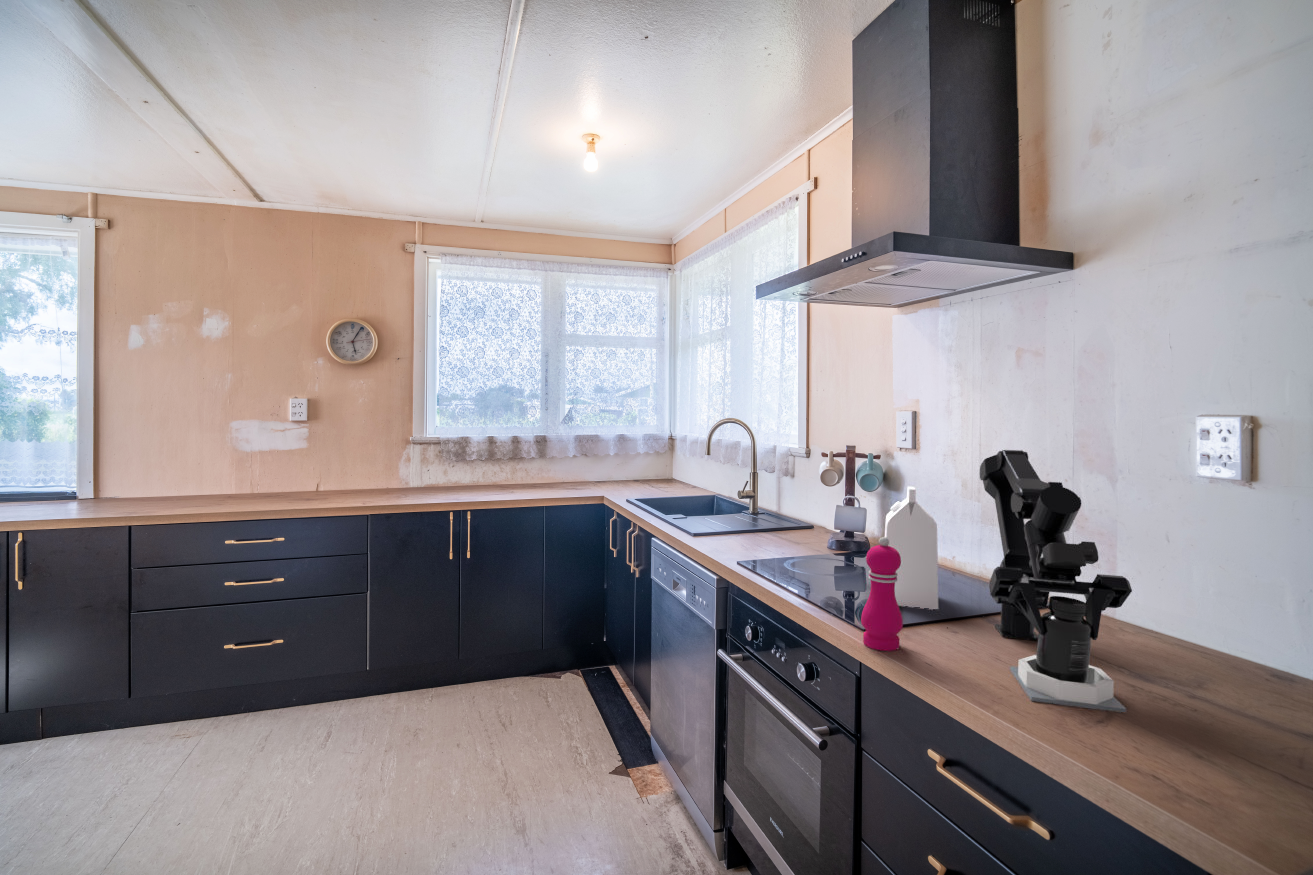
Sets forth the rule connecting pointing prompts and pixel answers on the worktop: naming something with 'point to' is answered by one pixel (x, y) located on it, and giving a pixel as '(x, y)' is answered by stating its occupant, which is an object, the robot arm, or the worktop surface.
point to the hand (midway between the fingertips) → (1068, 636)
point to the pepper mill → (882, 599)
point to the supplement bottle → (1064, 641)
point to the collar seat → (1067, 688)
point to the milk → (914, 552)
